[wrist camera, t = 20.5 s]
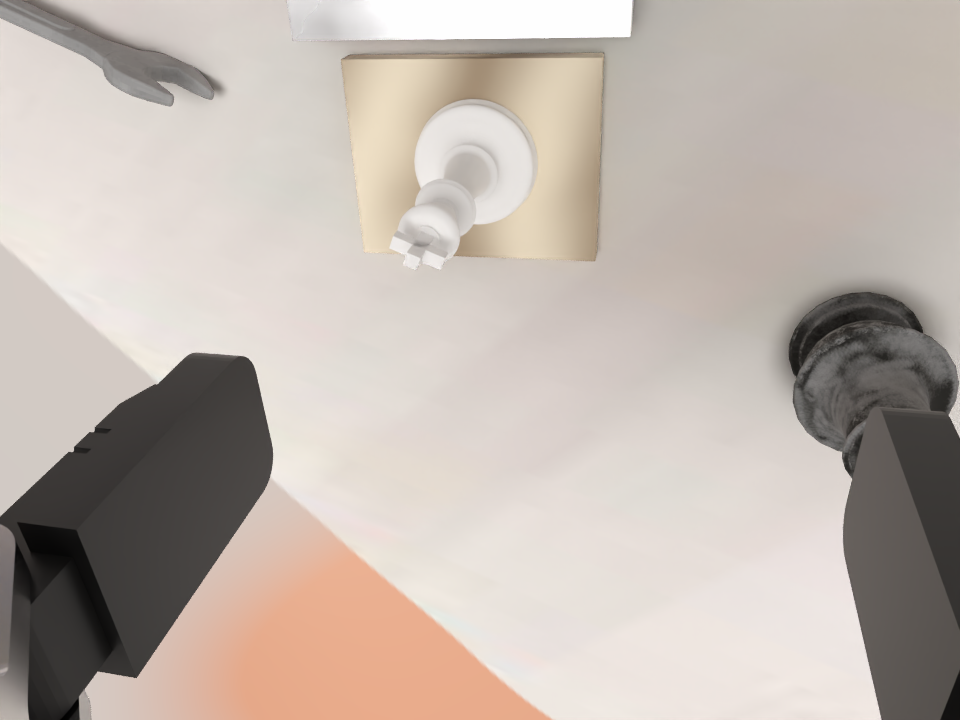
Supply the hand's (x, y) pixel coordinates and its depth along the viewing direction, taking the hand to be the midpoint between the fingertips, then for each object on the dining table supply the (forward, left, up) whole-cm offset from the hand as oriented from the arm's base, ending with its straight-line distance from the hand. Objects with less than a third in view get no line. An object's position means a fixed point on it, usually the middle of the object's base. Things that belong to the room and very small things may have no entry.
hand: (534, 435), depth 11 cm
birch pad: (+5, +3, -23) cm, 24 cm away
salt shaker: (-11, +11, -24) cm, 28 cm away
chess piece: (+5, +3, -23) cm, 23 cm away
